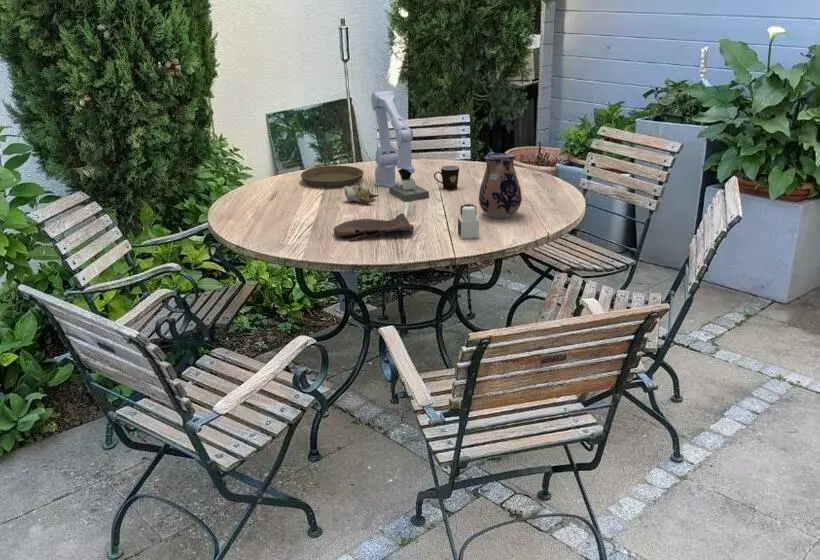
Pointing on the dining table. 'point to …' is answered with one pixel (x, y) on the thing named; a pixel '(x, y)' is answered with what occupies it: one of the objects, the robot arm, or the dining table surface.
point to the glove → (372, 227)
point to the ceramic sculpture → (359, 194)
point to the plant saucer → (332, 176)
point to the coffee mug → (449, 177)
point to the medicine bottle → (468, 222)
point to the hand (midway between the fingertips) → (405, 185)
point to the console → (408, 193)
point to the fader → (408, 184)
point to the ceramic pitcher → (500, 186)
